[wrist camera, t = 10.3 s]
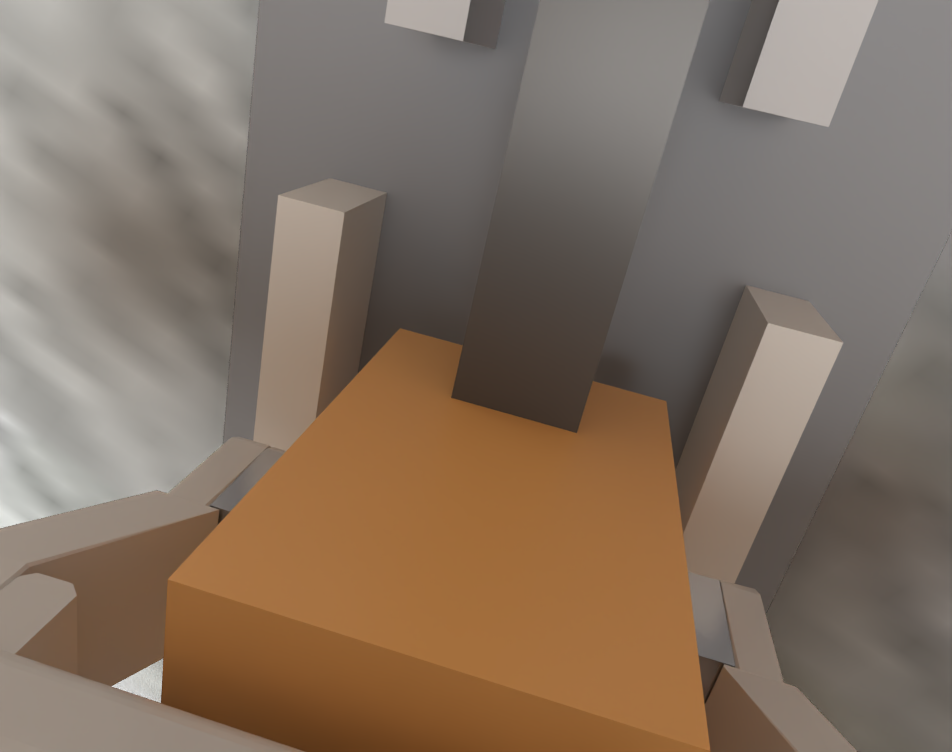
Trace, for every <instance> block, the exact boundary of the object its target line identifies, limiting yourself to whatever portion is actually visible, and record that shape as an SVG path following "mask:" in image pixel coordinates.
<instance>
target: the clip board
mask: <svg viewBox="0 0 952 752" xmlns="http://www.w3.org/2000/svg"><path fill="white" fill-rule="evenodd" d="M539 1H540V0H259V12H258V25H257V37H256V49H255V61H254V73H253V85H252V97H251V109H250V121H249V134H248V146H247V158H246V170H245V182H244V194H243V206H242V218H241V231H240V243H239V255H238V267H237V279H236V291H235V303H234V315H233V327H232V340H231V352H230V364H229V376H228V388H227V400H226V412H225V424H224V437H223V444H224V443H225V442H226V441H228V440H229V439H230V438H232V437H242V438H245V439H249V440H252V441H256V442H259V443H263V444H266V445H269V446H270V447H275V448H278V449H281V450H284V451H287V450H288V449H289V448H290V447H291V445H292V444H293V443H294V442H295V441H296V440H297V439H298V438H299V437H300V436H301V435H302V434H303V432H304V431H305V430H306V429H307V428H308V427H309V426H310V425H311V424H312V423H313V422H314V421H315V419H316V418H317V417H318V416H319V415H320V414H321V413H322V412H323V411H324V410H325V409H326V408H327V407H328V405H329V404H330V403H331V402H332V401H333V400H334V399H335V398H336V397H337V396H338V395H339V394H340V392H341V391H342V390H343V389H344V388H345V387H346V386H347V385H348V384H349V383H350V382H351V381H352V380H353V378H354V377H355V376H356V375H357V374H358V373H359V372H360V371H361V370H362V369H363V368H364V367H365V365H366V364H367V363H368V362H369V361H370V360H371V359H372V358H373V357H374V356H375V355H376V354H377V352H378V351H379V350H380V349H381V348H382V347H383V346H384V345H385V344H386V343H387V342H388V341H389V340H390V338H391V337H392V336H393V335H394V334H395V333H396V332H397V331H398V330H399V329H400V328H401V329H405V330H408V331H412V332H416V333H419V334H423V335H427V336H430V337H434V338H438V339H441V340H445V341H449V342H452V343H456V344H460V345H463V342H464V338H465V333H466V329H467V324H468V320H469V315H470V311H471V306H472V302H473V297H474V293H475V288H476V284H477V279H478V275H479V270H480V266H481V261H482V257H483V252H484V248H485V243H486V239H487V234H488V230H489V225H490V221H491V217H492V212H493V208H494V203H495V199H496V194H497V190H498V185H499V181H500V176H501V172H502V167H503V163H504V158H505V154H506V149H507V145H508V140H509V136H510V131H511V127H512V122H513V118H514V113H515V109H516V104H517V100H518V95H519V91H520V86H521V82H522V77H523V73H524V68H525V64H526V59H527V55H528V50H529V46H530V42H531V37H532V33H533V28H534V24H535V19H536V15H537V10H538V6H539ZM951 232H952V0H710V2H709V5H708V8H707V12H706V15H705V18H704V21H703V25H702V28H701V31H700V34H699V38H698V41H697V44H696V47H695V51H694V54H693V57H692V60H691V64H690V67H689V70H688V73H687V77H686V80H685V83H684V86H683V90H682V93H681V96H680V99H679V103H678V106H677V109H676V112H675V116H674V119H673V122H672V125H671V129H670V132H669V135H668V138H667V142H666V145H665V148H664V151H663V155H662V158H661V161H660V164H659V168H658V171H657V174H656V177H655V181H654V184H653V187H652V190H651V194H650V197H649V200H648V203H647V207H646V210H645V213H644V216H643V220H642V223H641V226H640V229H639V233H638V236H637V239H636V242H635V246H634V249H633V252H632V255H631V259H630V262H629V265H628V268H627V272H626V275H625V278H624V281H623V285H622V288H621V291H620V294H619V298H618V301H617V304H616V307H615V311H614V314H613V317H612V320H611V324H610V327H609V330H608V333H607V337H606V340H605V343H604V346H603V350H602V353H601V356H600V359H599V363H598V366H597V369H596V372H595V376H594V379H593V381H595V382H598V383H602V384H606V385H609V386H613V387H616V388H620V389H624V390H627V391H631V392H635V393H638V394H642V395H646V396H649V397H653V398H657V399H660V400H664V401H666V402H667V410H668V418H669V426H670V434H671V442H672V450H673V458H674V466H675V474H676V482H677V489H678V497H679V505H680V513H681V521H682V529H683V537H684V545H685V553H686V561H687V569H688V572H691V573H695V574H698V575H702V576H706V577H709V578H713V579H719V580H722V581H726V582H730V583H734V584H738V585H742V586H746V587H749V588H753V589H756V590H757V592H758V593H759V594H760V595H761V599H762V603H763V606H764V610H765V614H766V613H767V611H768V609H769V607H770V605H771V603H772V601H773V598H774V596H775V594H776V592H777V590H778V588H779V586H780V584H781V582H782V580H783V578H784V576H785V574H786V572H787V570H788V568H789V566H790V563H791V561H792V559H793V557H794V555H795V553H796V551H797V549H798V547H799V545H800V543H801V541H802V539H803V537H804V535H805V533H806V530H807V528H808V526H809V524H810V522H811V520H812V518H813V516H814V514H815V512H816V510H817V508H818V506H819V504H820V502H821V500H822V498H823V495H824V493H825V491H826V489H827V487H828V485H829V483H830V481H831V479H832V477H833V475H834V473H835V471H836V469H837V467H838V465H839V463H840V460H841V458H842V456H843V454H844V452H845V450H846V448H847V446H848V444H849V442H850V440H851V438H852V436H853V434H854V432H855V430H856V427H857V425H858V423H859V421H860V419H861V417H862V415H863V413H864V411H865V409H866V407H867V405H868V403H869V401H870V399H871V397H872V395H873V392H874V390H875V388H876V386H877V384H878V382H879V380H880V378H881V376H882V374H883V372H884V370H885V368H886V366H887V364H888V362H889V359H890V357H891V355H892V353H893V351H894V349H895V347H896V345H897V343H898V341H899V339H900V337H901V335H902V333H903V331H904V329H905V327H906V324H907V322H908V320H909V318H910V316H911V314H912V312H913V310H914V308H915V306H916V304H917V302H918V300H919V298H920V296H921V294H922V292H923V289H924V287H925V285H926V283H927V281H928V279H929V277H930V275H931V273H932V271H933V269H934V267H935V265H936V263H937V261H938V259H939V256H940V254H941V252H942V250H943V248H944V246H945V244H946V242H947V240H948V238H949V236H950V234H951Z"/></svg>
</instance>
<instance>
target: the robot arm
mask: <svg viewBox="0 0 952 752" xmlns="http://www.w3.org/2000/svg"><path fill="white" fill-rule="evenodd" d="M285 452H286V451H284V450H281V449H278V448H275V447H270V446H269V445H266V444H263V443H259V442H256V441H252V440H249V439H245V438H242V437H232V438H230V439H229V440H228V441H226V442H225V443H224V444H223V445H222V446H221V447H220V448H218V449H217V450H216V451H215V452H214V453H213V454H212V455H210V456H209V457H208V458H207V459H206V460H205V461H204V462H203V463H201V464H200V465H199V466H198V467H197V468H196V469H195V470H193V471H192V472H191V473H190V474H189V475H188V476H187V477H186V478H184V479H183V480H182V481H181V482H180V483H179V484H178V485H176V486H175V487H174V488H173V489H172V490H171V491H170V492H169V493H164V492H161V491H157V490H156V491H152V492H148V493H144V494H140V495H135V496H131V497H127V498H123V499H119V500H115V501H111V502H107V503H103V504H98V505H94V506H90V507H86V508H82V509H78V510H74V511H70V512H66V513H62V514H57V515H53V516H49V517H45V518H41V519H37V520H33V521H29V522H25V523H20V524H16V525H12V526H8V527H4V528H0V752H305V751H302V750H299V749H296V748H293V747H290V746H287V745H284V744H281V743H278V742H275V741H272V740H269V739H266V738H263V737H260V736H257V735H254V734H251V733H248V732H245V731H242V730H239V729H236V728H233V727H230V726H227V725H224V724H221V723H218V722H215V721H212V720H209V719H206V718H203V717H200V716H197V715H194V714H191V713H188V712H186V711H183V710H180V709H177V708H174V707H171V706H168V705H165V704H162V703H159V702H156V701H153V700H150V699H147V698H144V697H141V696H138V695H135V694H132V693H129V692H126V691H123V690H120V689H117V688H114V687H111V686H113V685H114V684H116V683H118V682H120V681H122V680H124V679H126V678H127V677H129V676H131V675H133V674H135V673H137V672H139V671H140V670H142V669H144V668H146V667H148V666H150V665H152V664H153V663H155V662H157V661H159V660H161V659H163V657H164V639H165V620H166V601H167V582H168V578H169V577H170V576H171V575H172V574H173V573H174V572H175V571H176V570H177V569H178V568H179V566H180V565H181V564H182V563H183V562H184V561H185V560H186V559H187V558H188V557H189V556H190V555H191V554H192V552H193V551H194V550H195V549H196V548H197V547H198V546H199V545H200V544H201V543H202V542H203V541H204V539H205V538H206V537H207V536H208V535H209V534H210V533H211V532H212V531H213V530H214V529H215V528H216V526H217V525H218V524H219V523H220V522H221V521H222V520H223V519H224V518H225V517H226V516H227V515H228V514H229V512H230V511H231V510H232V509H233V508H234V507H235V506H236V505H237V504H238V503H239V502H240V501H241V499H242V498H243V497H244V496H245V495H246V494H247V493H248V492H249V491H250V490H251V489H252V488H253V487H254V485H255V484H256V483H257V482H258V481H259V480H260V479H261V478H262V477H263V476H264V475H265V474H266V472H267V471H268V470H269V469H270V468H271V467H272V466H273V465H274V464H275V463H276V462H277V461H278V459H279V458H280V457H281V456H282V455H283V454H284V453H285ZM688 577H689V585H690V593H691V601H692V609H693V616H694V624H695V632H696V640H697V648H698V656H699V664H700V672H701V680H702V688H703V696H704V704H705V712H706V720H707V728H708V736H709V743H710V752H857V750H856V749H855V748H854V747H853V746H852V745H851V744H850V743H849V742H848V741H847V740H846V739H845V738H844V737H843V736H842V735H841V734H840V732H839V731H838V730H837V729H836V728H835V727H834V726H833V725H832V724H831V723H830V722H829V721H828V720H827V719H826V718H825V717H824V716H823V714H822V713H821V712H820V711H819V710H818V709H817V708H816V707H815V706H814V705H813V704H812V703H811V702H810V701H809V700H808V699H807V698H806V696H805V695H804V694H803V693H802V692H801V691H800V690H799V689H798V688H797V687H795V686H792V685H789V684H786V683H784V681H783V677H782V673H781V670H780V666H779V662H778V658H777V655H776V651H775V647H774V644H773V640H772V636H771V632H770V629H769V625H768V621H767V618H766V614H765V610H764V606H763V603H762V599H761V595H760V594H759V593H758V592H757V590H756V589H753V588H749V587H746V586H742V585H738V584H734V583H730V582H726V581H722V580H719V579H713V578H709V577H706V576H702V575H698V574H695V573H691V572H688Z"/></svg>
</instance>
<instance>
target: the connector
mask: <svg viewBox="0 0 952 752" xmlns="http://www.w3.org/2000/svg"><path fill="white" fill-rule="evenodd" d="M709 2H710V0H540V1H539V6H538V10H537V15H536V19H535V24H534V28H533V33H532V37H531V42H530V46H529V50H528V55H527V59H526V64H525V68H524V73H523V77H522V82H521V86H520V91H519V95H518V100H517V104H516V109H515V113H514V118H513V122H512V127H511V131H510V136H509V140H508V145H507V149H506V154H505V158H504V163H503V167H502V172H501V176H500V181H499V185H498V190H497V194H496V199H495V203H494V208H493V212H492V217H491V221H490V225H489V230H488V234H487V239H486V243H485V248H484V252H483V257H482V261H481V266H480V270H479V275H478V279H477V284H476V288H475V293H474V297H473V302H472V306H471V311H470V315H469V320H468V324H467V329H466V333H465V338H464V342H463V345H460V344H456V343H452V342H449V341H445V340H441V339H438V338H434V337H430V336H427V335H423V334H419V333H416V332H412V331H408V330H405V329H401V328H400V329H399V330H398V331H397V332H396V333H395V334H394V335H393V336H392V337H391V338H390V340H389V341H388V342H387V343H386V344H385V345H384V346H383V347H382V348H381V349H380V350H379V351H378V352H377V354H376V355H375V356H374V357H373V358H372V359H371V360H370V361H369V362H368V363H367V364H366V365H365V367H364V368H363V369H362V370H361V371H360V372H359V373H358V374H357V375H356V376H355V377H354V378H353V380H352V381H351V382H350V383H349V384H348V385H347V386H346V387H345V388H344V389H343V390H342V391H341V392H340V394H339V395H338V396H337V397H336V398H335V399H334V400H333V401H332V402H331V403H330V404H329V405H328V407H327V408H326V409H325V410H324V411H323V412H322V413H321V414H320V415H319V416H318V417H317V418H316V419H315V421H314V422H313V423H312V424H311V425H310V426H309V427H308V428H307V429H306V430H305V431H304V432H303V434H302V435H301V436H300V437H299V438H298V439H297V440H296V441H295V442H294V443H293V444H292V445H291V447H290V448H289V449H288V450H287V451H286V452H285V453H284V454H283V455H282V456H281V457H280V458H279V459H278V461H277V462H276V463H275V464H274V465H273V466H272V467H271V468H270V469H269V470H268V471H267V472H266V474H265V475H264V476H263V477H262V478H261V479H260V480H259V481H258V482H257V483H256V484H255V485H254V487H253V488H252V489H251V490H250V491H249V492H248V493H247V494H246V495H245V496H244V497H243V498H242V499H241V501H240V502H239V503H238V504H237V505H236V506H235V507H234V508H233V509H232V510H231V511H230V512H229V514H228V515H227V516H226V517H225V518H224V519H223V520H222V521H221V522H220V523H219V524H218V525H217V526H216V528H215V529H214V530H213V531H212V532H211V533H210V534H209V535H208V536H207V537H206V538H205V539H204V541H203V542H202V543H201V544H200V545H199V546H198V547H197V548H196V549H195V550H194V551H193V552H192V554H191V555H190V556H189V557H188V558H187V559H186V560H185V561H184V562H183V563H182V564H181V565H180V566H179V568H178V569H177V570H176V571H175V572H174V573H173V574H172V575H171V576H170V577H169V578H168V582H167V601H166V620H165V639H164V657H163V676H162V695H161V703H162V704H165V705H168V706H171V707H174V708H177V709H180V710H183V711H186V712H188V713H191V714H194V715H197V716H200V717H203V718H206V719H209V720H212V721H215V722H218V723H221V724H224V725H227V726H230V727H233V728H236V729H239V730H242V731H245V732H248V733H251V734H254V735H257V736H260V737H263V738H266V739H269V740H272V741H275V742H278V743H281V744H284V745H287V746H290V747H293V748H296V749H299V750H302V751H305V752H710V743H709V736H708V728H707V720H706V712H705V704H704V696H703V688H702V680H701V672H700V664H699V656H698V648H697V640H696V632H695V624H694V616H693V609H692V601H691V593H690V585H689V577H688V569H687V561H686V553H685V545H684V537H683V529H682V521H681V513H680V505H679V497H678V489H677V482H676V474H675V466H674V458H673V450H672V442H671V434H670V426H669V418H668V410H667V402H666V401H664V400H660V399H657V398H653V397H649V396H646V395H642V394H638V393H635V392H631V391H627V390H624V389H620V388H616V387H613V386H609V385H606V384H602V383H598V382H595V381H593V379H594V376H595V372H596V369H597V366H598V363H599V359H600V356H601V353H602V350H603V346H604V343H605V340H606V337H607V333H608V330H609V327H610V324H611V320H612V317H613V314H614V311H615V307H616V304H617V301H618V298H619V294H620V291H621V288H622V285H623V281H624V278H625V275H626V272H627V268H628V265H629V262H630V259H631V255H632V252H633V249H634V246H635V242H636V239H637V236H638V233H639V229H640V226H641V223H642V220H643V216H644V213H645V210H646V207H647V203H648V200H649V197H650V194H651V190H652V187H653V184H654V181H655V177H656V174H657V171H658V168H659V164H660V161H661V158H662V155H663V151H664V148H665V145H666V142H667V138H668V135H669V132H670V129H671V125H672V122H673V119H674V116H675V112H676V109H677V106H678V103H679V99H680V96H681V93H682V90H683V86H684V83H685V80H686V77H687V73H688V70H689V67H690V64H691V60H692V57H693V54H694V51H695V47H696V44H697V41H698V38H699V34H700V31H701V28H702V25H703V21H704V18H705V15H706V12H707V8H708V5H709Z"/></svg>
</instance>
